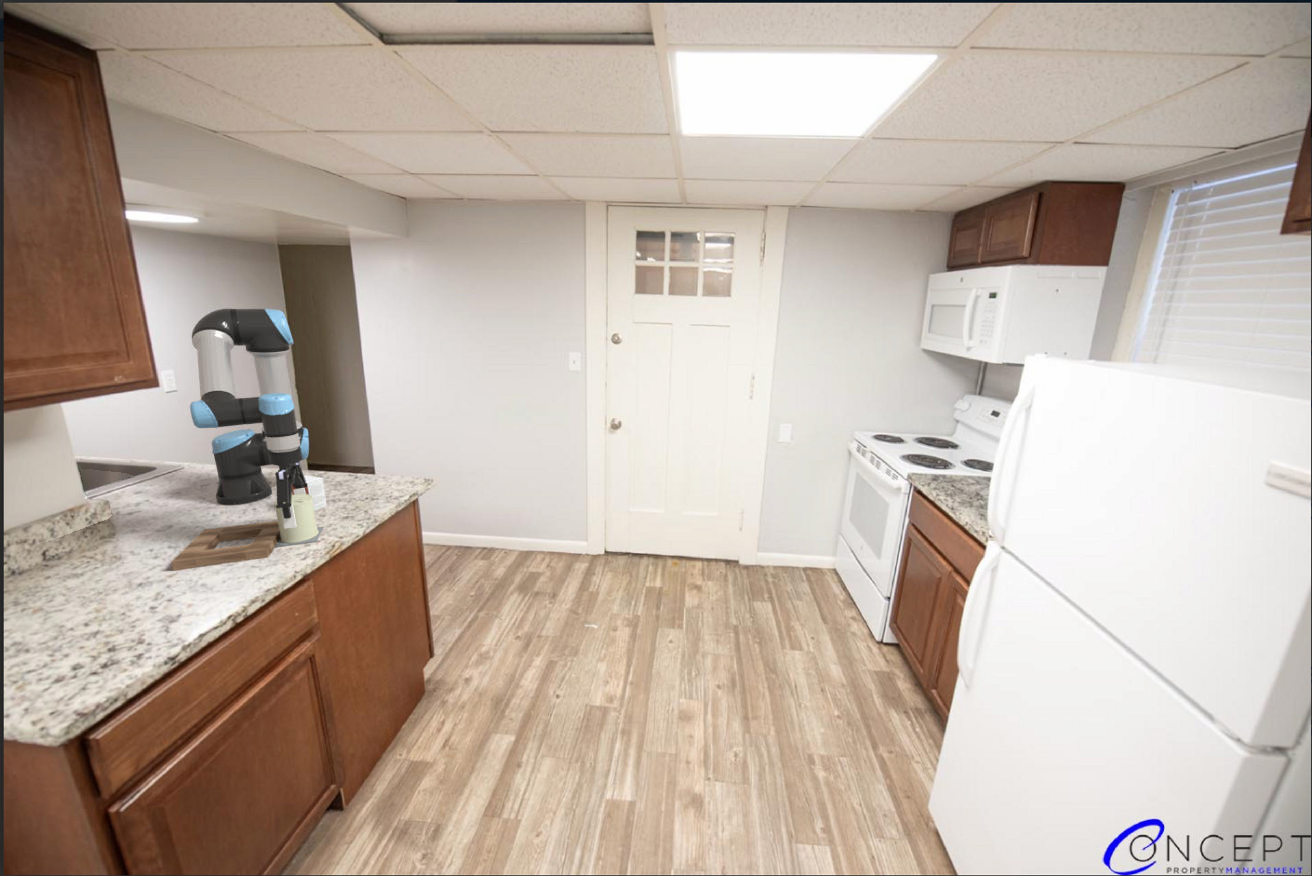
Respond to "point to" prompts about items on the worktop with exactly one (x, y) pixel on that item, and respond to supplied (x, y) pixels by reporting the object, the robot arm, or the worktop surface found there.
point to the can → (299, 520)
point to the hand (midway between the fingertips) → (296, 517)
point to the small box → (315, 491)
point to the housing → (208, 539)
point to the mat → (314, 539)
